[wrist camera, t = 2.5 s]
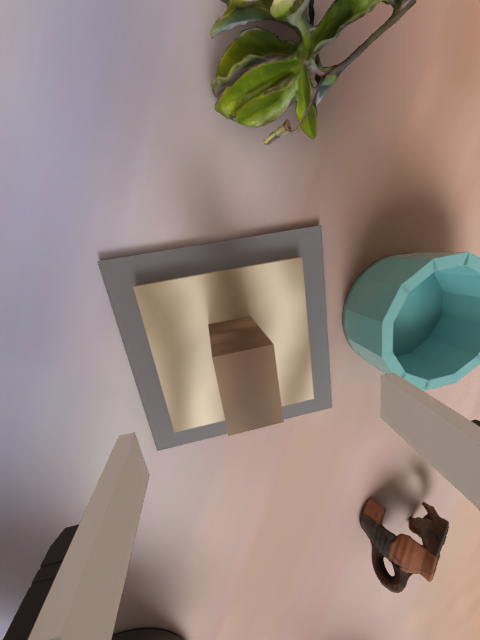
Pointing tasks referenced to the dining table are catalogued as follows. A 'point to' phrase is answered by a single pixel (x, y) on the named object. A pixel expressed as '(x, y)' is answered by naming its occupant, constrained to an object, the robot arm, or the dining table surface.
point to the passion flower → (285, 59)
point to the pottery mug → (404, 545)
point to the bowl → (417, 316)
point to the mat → (207, 259)
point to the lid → (230, 344)
